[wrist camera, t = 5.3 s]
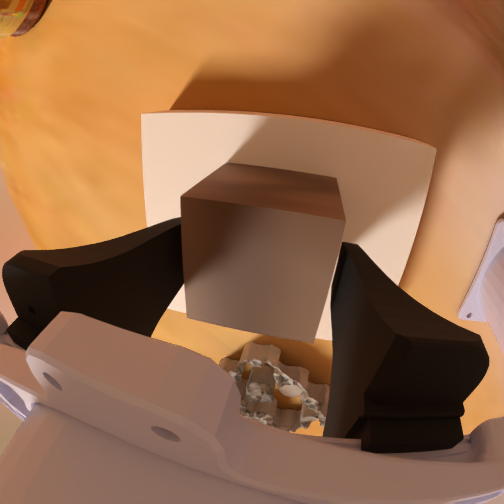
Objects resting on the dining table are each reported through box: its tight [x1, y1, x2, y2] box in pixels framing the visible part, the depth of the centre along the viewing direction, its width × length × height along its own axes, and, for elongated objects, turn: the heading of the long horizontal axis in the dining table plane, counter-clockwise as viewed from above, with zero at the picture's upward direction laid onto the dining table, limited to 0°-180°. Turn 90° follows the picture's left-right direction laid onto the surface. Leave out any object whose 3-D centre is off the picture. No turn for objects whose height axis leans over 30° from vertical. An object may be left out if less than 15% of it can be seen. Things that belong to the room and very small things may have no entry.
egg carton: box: [219, 342, 330, 432], centre depth 23 cm, size 11×8×4 cm
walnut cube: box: [180, 162, 346, 343], centre depth 12 cm, size 5×5×5 cm
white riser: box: [141, 110, 437, 340], centre depth 16 cm, size 14×12×3 cm
